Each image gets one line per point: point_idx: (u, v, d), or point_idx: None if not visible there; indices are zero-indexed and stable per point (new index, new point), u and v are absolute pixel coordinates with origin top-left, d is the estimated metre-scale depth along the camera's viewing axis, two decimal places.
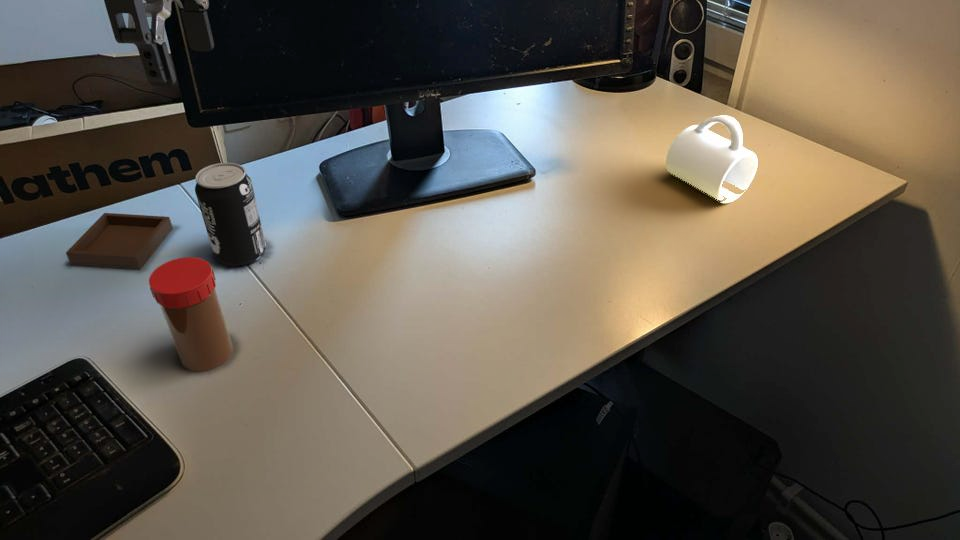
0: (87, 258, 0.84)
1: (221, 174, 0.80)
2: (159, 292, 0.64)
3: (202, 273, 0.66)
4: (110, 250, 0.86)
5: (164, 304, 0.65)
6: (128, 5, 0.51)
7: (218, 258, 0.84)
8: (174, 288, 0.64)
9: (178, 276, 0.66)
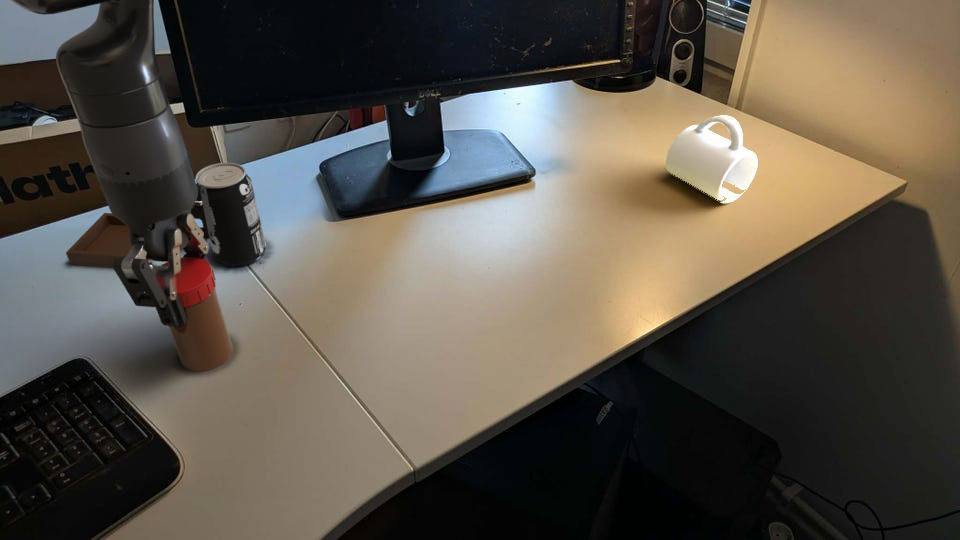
0: (87, 258, 0.84)
1: (221, 174, 0.80)
2: None
3: (202, 273, 0.66)
4: (110, 250, 0.86)
5: None
6: None
7: (218, 258, 0.84)
8: None
9: (178, 276, 0.66)
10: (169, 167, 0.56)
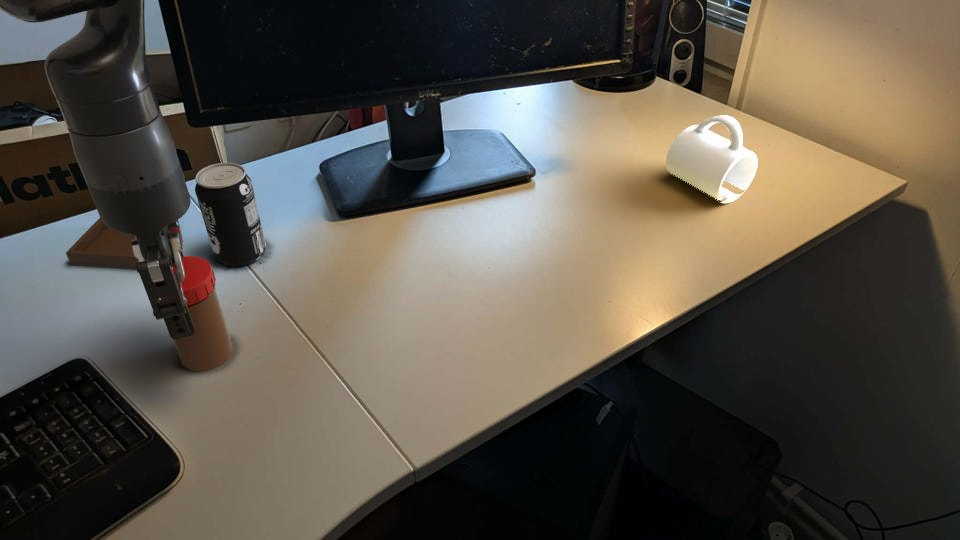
0: (87, 258, 0.84)
1: (221, 174, 0.80)
2: (202, 282, 0.65)
3: (187, 260, 0.67)
4: (110, 250, 0.86)
5: (206, 293, 0.66)
6: None
7: (218, 258, 0.84)
8: (202, 273, 0.66)
9: None
10: (174, 166, 0.57)
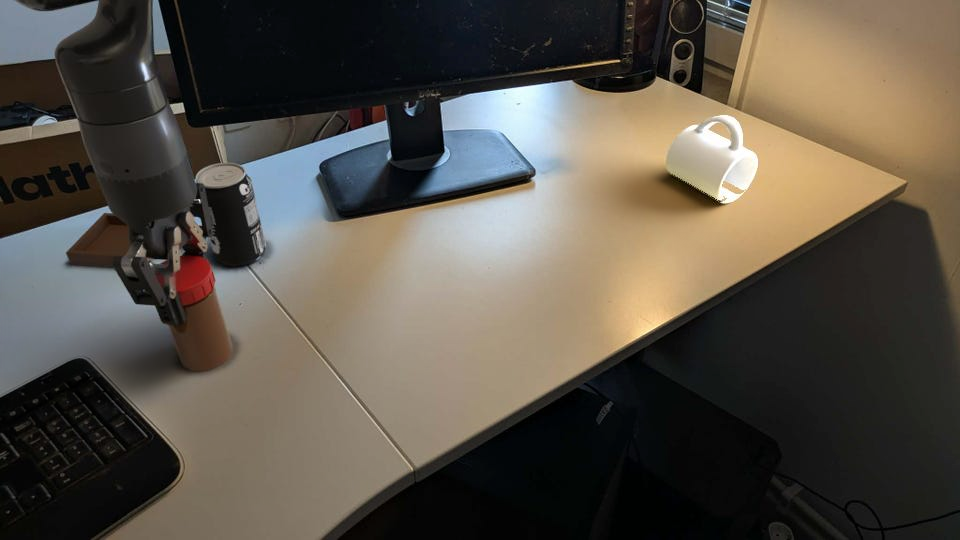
0: (87, 258, 0.84)
1: (221, 174, 0.80)
2: (203, 258, 0.68)
3: None
4: (110, 250, 0.86)
5: None
6: None
7: (218, 258, 0.84)
8: (189, 259, 0.67)
9: (182, 271, 0.66)
10: (168, 165, 0.56)
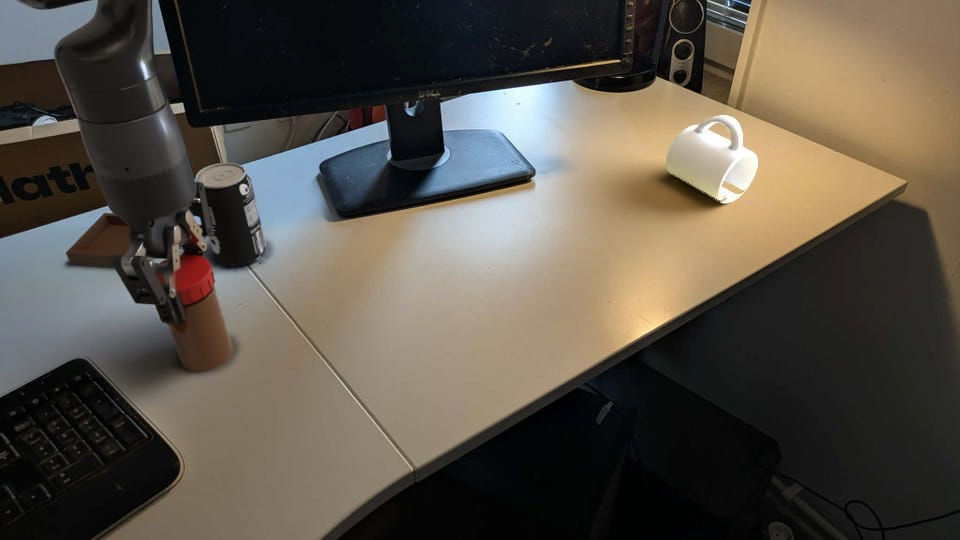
0: (87, 258, 0.84)
1: (221, 174, 0.80)
2: (163, 261, 0.67)
3: None
4: (110, 250, 0.86)
5: None
6: None
7: (218, 258, 0.84)
8: None
9: None
10: (168, 163, 0.56)
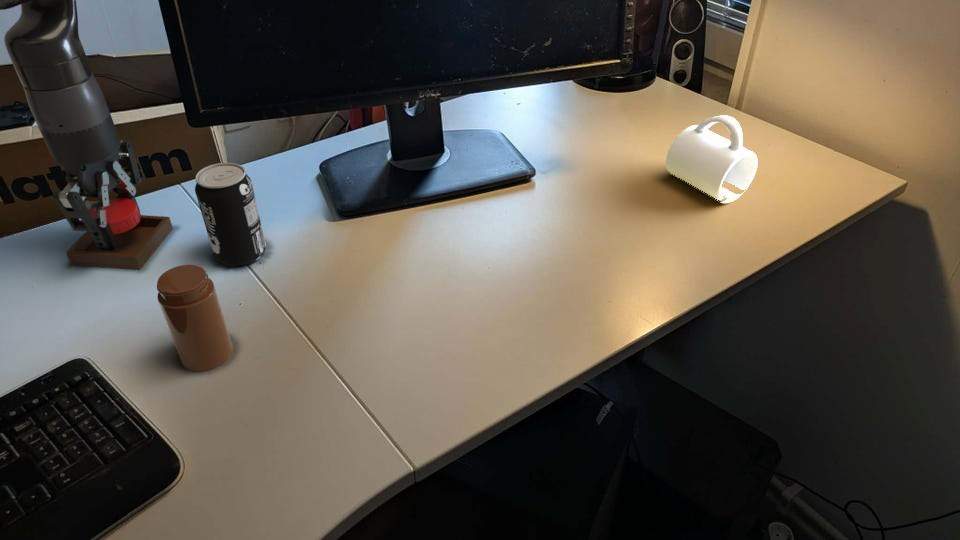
0: (87, 258, 0.84)
1: (221, 174, 0.80)
2: None
3: None
4: None
5: None
6: None
7: (218, 258, 0.84)
8: None
9: (110, 209, 0.85)
10: (93, 122, 0.75)
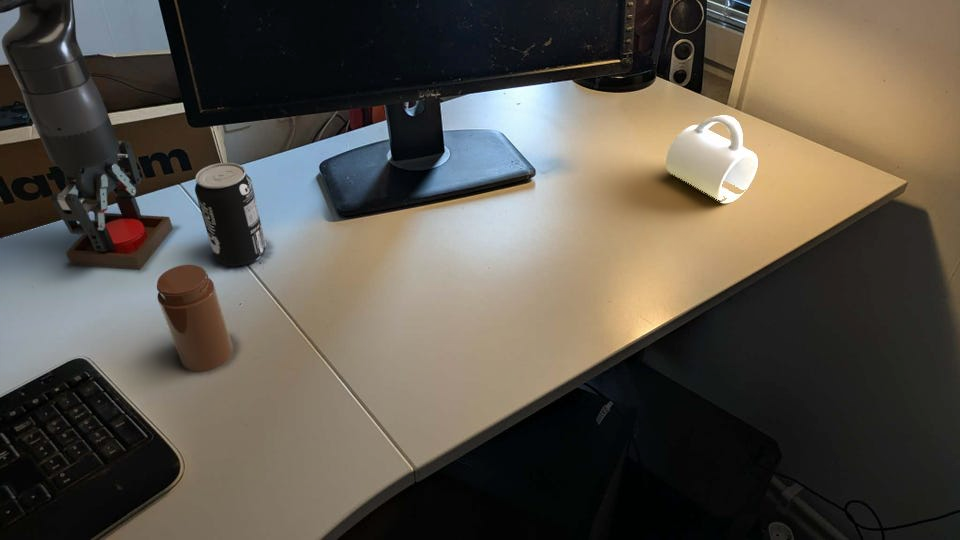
0: (87, 258, 0.84)
1: (221, 174, 0.80)
2: (108, 223, 0.88)
3: None
4: None
5: None
6: None
7: (218, 258, 0.84)
8: None
9: (117, 229, 0.87)
10: (92, 125, 0.75)
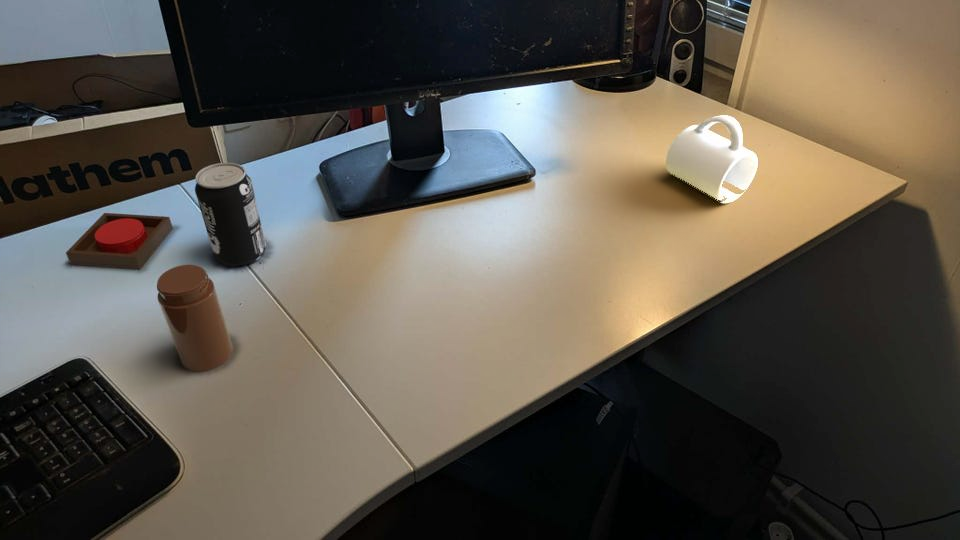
0: (87, 258, 0.84)
1: (221, 174, 0.80)
2: (108, 223, 0.88)
3: (108, 239, 0.85)
4: None
5: None
6: None
7: (218, 258, 0.84)
8: (103, 228, 0.87)
9: (117, 229, 0.87)
10: None
